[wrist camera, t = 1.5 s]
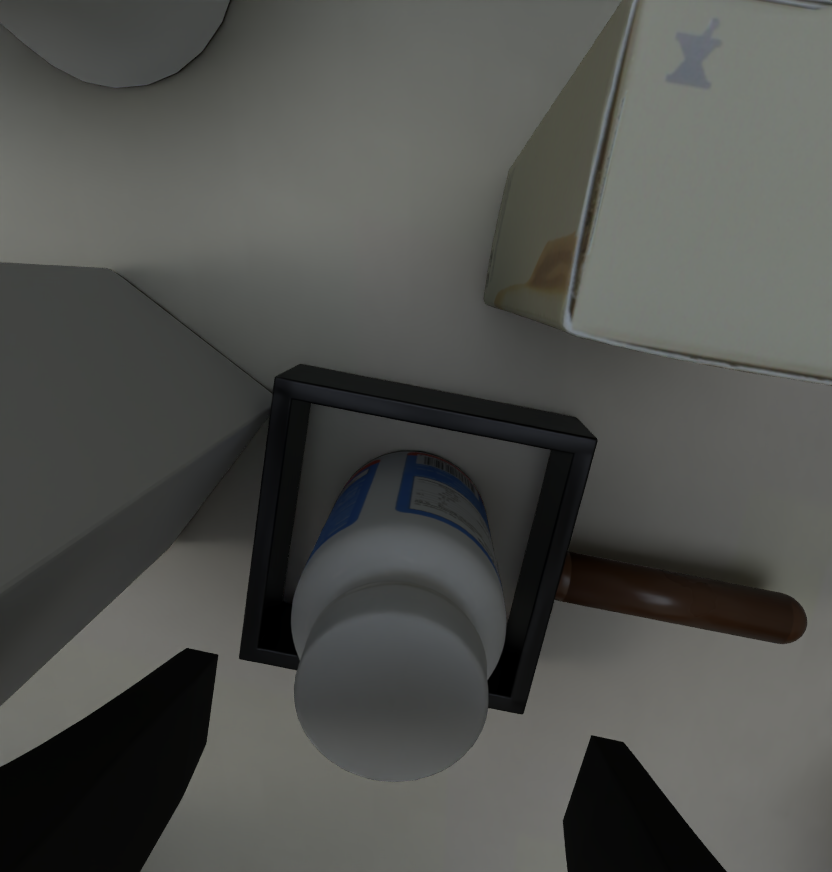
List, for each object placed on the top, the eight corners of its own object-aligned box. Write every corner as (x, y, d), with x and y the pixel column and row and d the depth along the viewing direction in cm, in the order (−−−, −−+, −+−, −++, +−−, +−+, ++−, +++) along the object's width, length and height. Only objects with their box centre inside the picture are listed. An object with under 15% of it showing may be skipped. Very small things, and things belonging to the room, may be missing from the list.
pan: (265, 611, 23) (238, 659, 20) (299, 363, 20) (274, 376, 17) (725, 702, 23) (765, 763, 20) (813, 462, 20) (874, 492, 17)
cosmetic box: (480, 306, 20) (528, 337, 8) (507, 164, 19) (611, -52, 7) (674, 340, 20) (1024, 425, 8) (714, 200, 18) (1190, 47, 7)
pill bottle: (358, 600, 22) (293, 830, 13) (318, 466, 21) (214, 611, 12) (503, 572, 22) (545, 790, 12) (470, 432, 21) (488, 555, 11)
